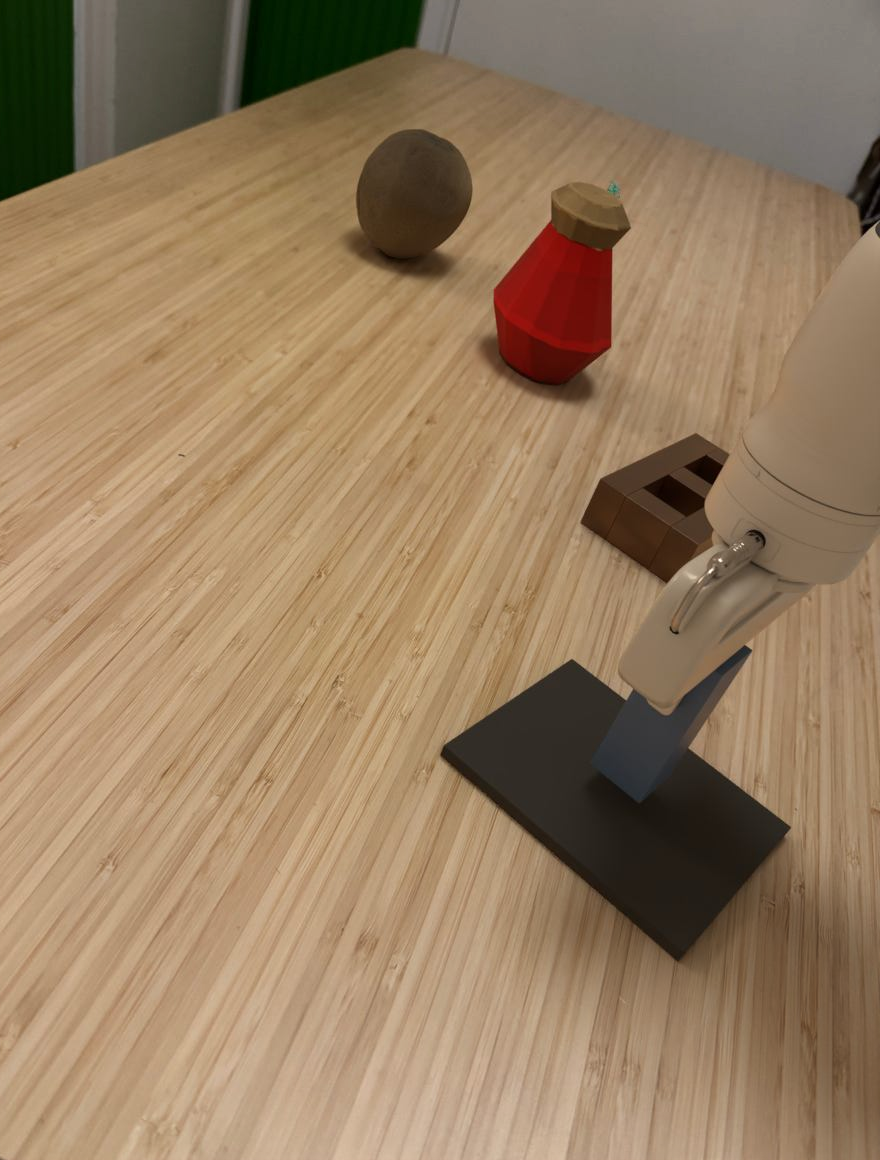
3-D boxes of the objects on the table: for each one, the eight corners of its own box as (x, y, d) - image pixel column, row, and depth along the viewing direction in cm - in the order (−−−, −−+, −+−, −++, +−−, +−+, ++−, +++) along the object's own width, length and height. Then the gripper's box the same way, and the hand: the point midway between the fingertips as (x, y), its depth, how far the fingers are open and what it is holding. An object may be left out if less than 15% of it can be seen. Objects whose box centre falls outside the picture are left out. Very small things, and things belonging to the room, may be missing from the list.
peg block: (762, 529, 107) (786, 489, 104) (674, 588, 94) (698, 544, 91) (675, 472, 111) (696, 432, 108) (580, 522, 98) (600, 478, 95)
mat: (784, 835, 74) (791, 827, 73) (678, 961, 63) (685, 953, 62) (567, 667, 81) (572, 658, 81) (439, 754, 71) (443, 744, 70)
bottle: (615, 398, 121) (690, 230, 108) (525, 402, 114) (595, 223, 101) (541, 330, 130) (602, 168, 117) (453, 330, 123) (508, 158, 110)
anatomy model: (572, 165, 174) (586, 175, 169) (614, 176, 176) (629, 185, 171) (562, 197, 177) (575, 208, 171) (603, 207, 179) (618, 217, 174)
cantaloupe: (415, 287, 130) (450, 165, 120) (324, 240, 133) (351, 117, 124) (467, 265, 140) (503, 151, 131) (381, 222, 144) (410, 107, 134)
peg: (669, 776, 71) (753, 650, 63) (639, 804, 68) (722, 676, 61) (621, 737, 73) (696, 610, 65) (589, 763, 70) (664, 633, 62)
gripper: (762, 606, 48) (641, 794, 57) (905, 493, 62) (789, 658, 71) (653, 532, 51) (553, 723, 60) (814, 439, 65) (713, 605, 73)
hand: (682, 687), depth 65 cm, fingers closed on peg, 4 cm apart
